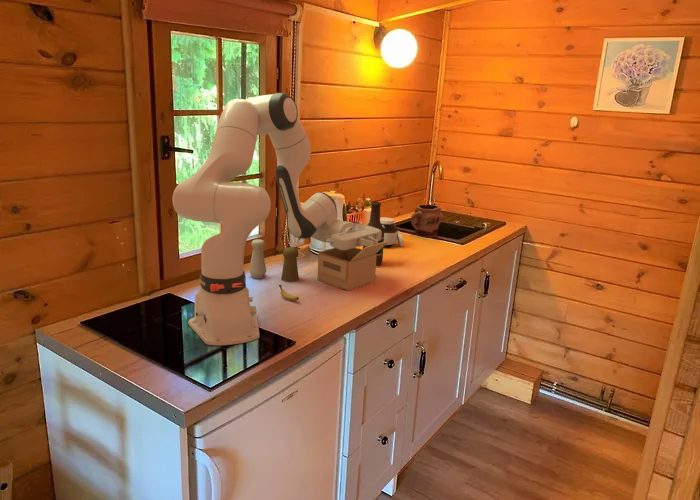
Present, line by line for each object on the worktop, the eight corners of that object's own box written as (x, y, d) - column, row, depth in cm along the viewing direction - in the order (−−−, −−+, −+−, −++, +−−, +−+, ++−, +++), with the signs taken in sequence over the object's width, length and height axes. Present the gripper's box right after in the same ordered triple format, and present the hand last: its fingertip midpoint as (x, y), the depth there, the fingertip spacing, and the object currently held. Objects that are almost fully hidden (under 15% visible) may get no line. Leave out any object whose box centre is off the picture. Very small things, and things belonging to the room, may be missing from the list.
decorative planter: (422, 242, 242) (425, 211, 238) (400, 236, 250) (402, 206, 246) (447, 235, 257) (450, 206, 253) (426, 229, 264) (428, 201, 261)
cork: (282, 282, 185) (282, 250, 182) (280, 276, 190) (280, 245, 187) (300, 281, 186) (300, 250, 183) (297, 275, 192) (298, 245, 189)
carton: (314, 280, 188) (315, 252, 186) (344, 270, 200) (346, 244, 197) (346, 291, 179) (347, 262, 176) (376, 281, 190) (377, 253, 188)
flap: (365, 246, 172) (366, 247, 172) (388, 240, 181) (389, 241, 181) (351, 259, 178) (351, 260, 177) (374, 252, 186) (375, 254, 186)
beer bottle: (374, 259, 214) (378, 199, 207) (386, 265, 208) (390, 203, 201) (357, 262, 210) (361, 200, 203) (369, 268, 204) (373, 204, 197)
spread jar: (369, 243, 236) (371, 217, 232) (389, 240, 242) (391, 215, 239) (387, 251, 227) (389, 223, 223) (408, 247, 233) (410, 221, 230)
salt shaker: (262, 280, 185) (262, 243, 182) (246, 278, 186) (246, 241, 183) (268, 274, 191) (268, 238, 187) (252, 273, 192) (253, 237, 188)
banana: (277, 297, 172) (277, 285, 171) (281, 295, 173) (281, 283, 172) (296, 304, 167) (297, 291, 166) (300, 302, 169) (300, 290, 168)
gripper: (322, 230, 178) (354, 239, 169) (362, 221, 193) (394, 229, 184) (321, 248, 180) (353, 259, 171) (361, 238, 195) (392, 247, 186)
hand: (375, 243), depth 178 cm, fingers closed, pressing on flap
